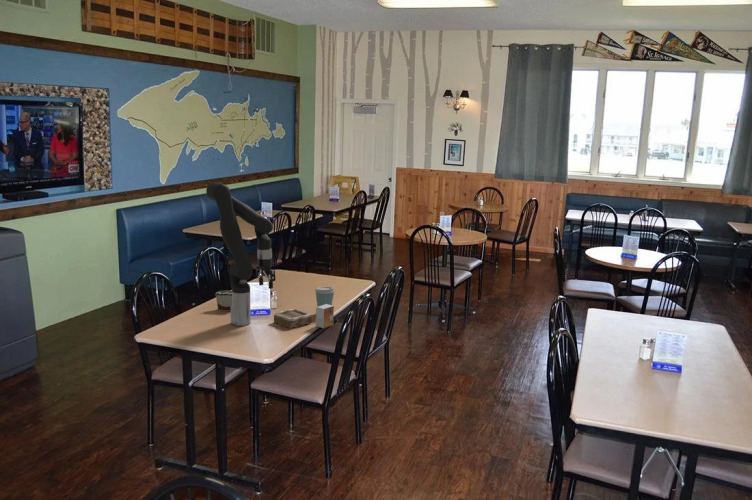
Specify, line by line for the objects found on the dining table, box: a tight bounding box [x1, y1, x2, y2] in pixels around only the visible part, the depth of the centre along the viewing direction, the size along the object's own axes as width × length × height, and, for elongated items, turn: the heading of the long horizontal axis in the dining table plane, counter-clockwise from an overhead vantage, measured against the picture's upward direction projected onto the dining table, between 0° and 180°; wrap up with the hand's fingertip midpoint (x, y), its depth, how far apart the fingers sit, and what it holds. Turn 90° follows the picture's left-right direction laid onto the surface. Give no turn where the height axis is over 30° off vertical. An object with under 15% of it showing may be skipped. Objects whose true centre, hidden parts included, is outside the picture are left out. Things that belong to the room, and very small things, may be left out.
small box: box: [315, 304, 335, 329], centre depth 334 cm, size 8×6×10 cm
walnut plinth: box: [273, 308, 313, 329], centre depth 338 cm, size 14×14×5 cm
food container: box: [214, 290, 232, 312], centre depth 358 cm, size 12×6×10 cm, turn 84°
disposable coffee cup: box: [315, 286, 335, 307], centre depth 354 cm, size 11×11×15 cm
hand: (266, 286), depth 340 cm, fingers open, 8 cm apart
